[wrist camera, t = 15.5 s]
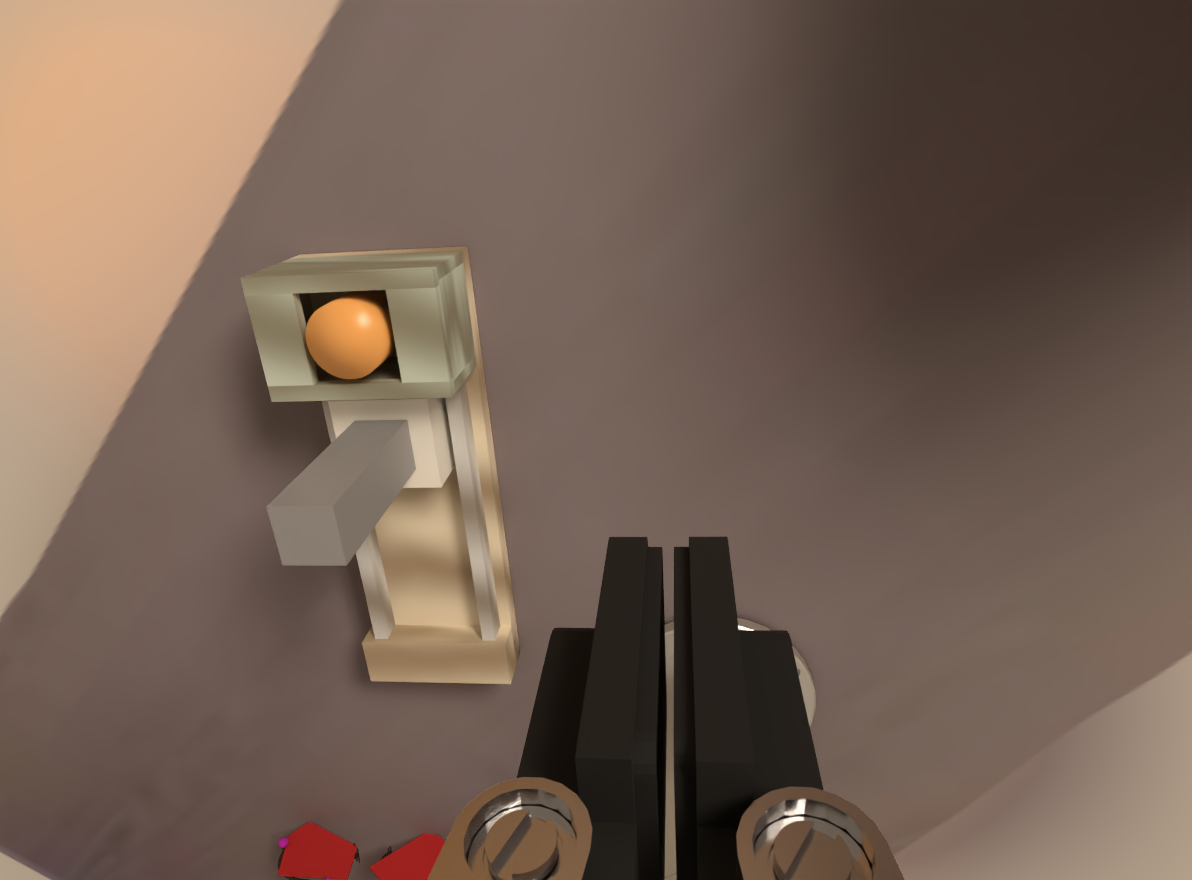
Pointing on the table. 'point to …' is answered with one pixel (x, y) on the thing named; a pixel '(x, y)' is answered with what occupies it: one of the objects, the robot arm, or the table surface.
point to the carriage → (360, 477)
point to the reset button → (351, 334)
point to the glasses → (352, 856)
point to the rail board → (417, 515)
